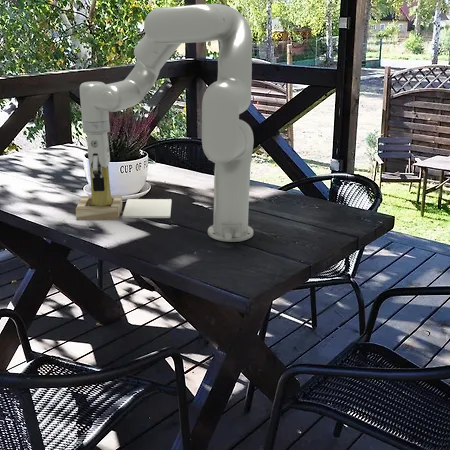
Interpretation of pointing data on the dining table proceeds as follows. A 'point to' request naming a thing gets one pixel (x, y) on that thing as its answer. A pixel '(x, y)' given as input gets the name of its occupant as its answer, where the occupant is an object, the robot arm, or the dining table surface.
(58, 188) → the dining table surface
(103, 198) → the vase
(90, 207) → the holder
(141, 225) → the dining table surface
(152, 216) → the board
